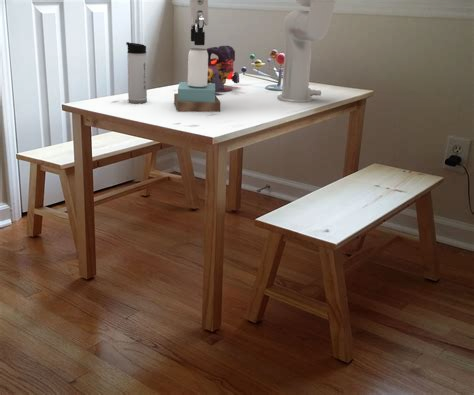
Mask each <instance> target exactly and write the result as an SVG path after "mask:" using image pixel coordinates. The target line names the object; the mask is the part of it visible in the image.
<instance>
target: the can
mask: <svg viewBox="0 0 474 395" xmlns="http://www.w3.org/2000/svg"><path fill="white" fill-rule="evenodd" d="M187 60H188V61H187V62H188V63H187V82H188V85H189V86H190V87H206V86H207V78H208V53H207V48H199V47H198V48H197V47H193V48H189V52H188V56H187Z"/></svg>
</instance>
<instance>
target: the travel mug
mask: <svg viewBox="0 0 474 395" xmlns="http://www.w3.org/2000/svg"><path fill="white" fill-rule="evenodd" d="M125 45H126V46H127V92H128V93H127V94H128V96H127V98H128V102H129V103H130V104H137V105H138V104H139V105H140V104H146V103H147V102H148V99H147V97H148V94H147V90H148V88H147V87H148V86H147V85H148V84H147V82H148V81H147V79H148V78H147V45H145V44H143V43H135V42H130V41H129V42H127V41H126V42H125Z"/></svg>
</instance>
